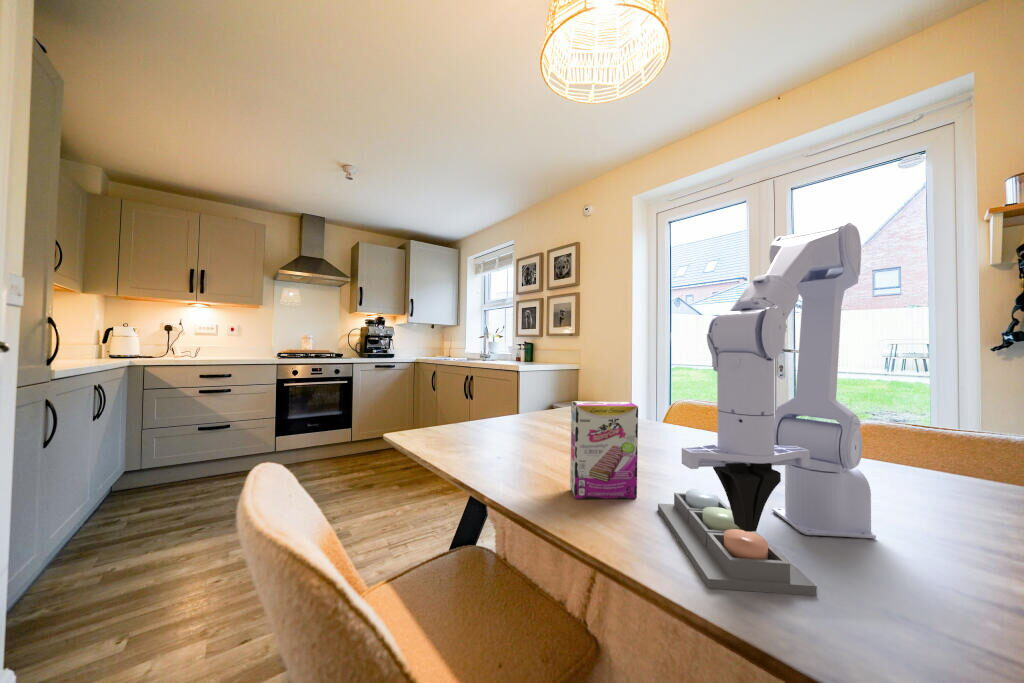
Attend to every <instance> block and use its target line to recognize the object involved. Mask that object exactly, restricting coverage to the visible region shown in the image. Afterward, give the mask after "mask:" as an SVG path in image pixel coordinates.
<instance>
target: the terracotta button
mask: <svg viewBox="0 0 1024 683" xmlns="http://www.w3.org/2000/svg"><path fill="white" fill-rule="evenodd" d="M761 536H762V535H761ZM761 536H759V535H757V534H755V533H752V532H746V531H744V530H739V529H730V530H726V531H725V532H724V548H725V550H726V551H727V552H728V553H729V554H730V555H731V557H732V558H745V559H762V560H768V542H767V541H768V540H767V539H766V538H764V536H762V537H761Z"/></svg>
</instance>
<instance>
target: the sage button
mask: <svg viewBox="0 0 1024 683" xmlns="http://www.w3.org/2000/svg"><path fill="white" fill-rule="evenodd" d="M703 524H704V525H705V526H706V527H707V528H708V530H730V529H739V530H740V527H738V526H737V525H735V524H734V519H733V515H732V511H731V510H728V509H724V508H719V507H706V508H704V509H703Z"/></svg>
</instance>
